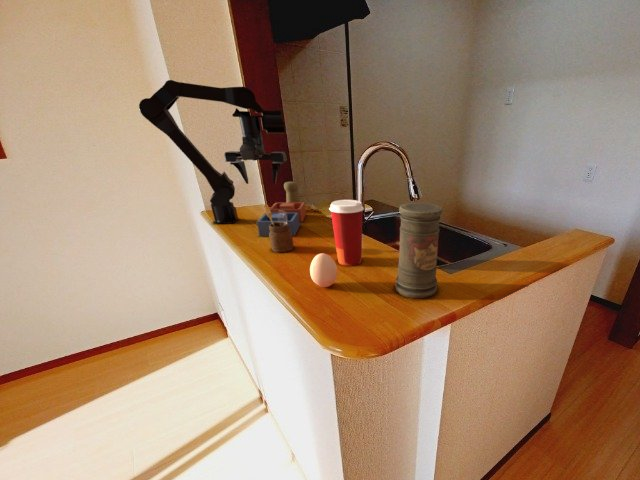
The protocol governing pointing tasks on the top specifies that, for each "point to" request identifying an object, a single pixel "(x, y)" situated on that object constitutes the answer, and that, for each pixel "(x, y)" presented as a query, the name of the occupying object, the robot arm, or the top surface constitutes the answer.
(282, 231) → the utensil holder
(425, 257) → the container
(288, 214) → the blue bin
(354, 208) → the coffee cup
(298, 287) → the top surface
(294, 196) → the cork
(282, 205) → the terracotta block
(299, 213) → the terracotta bin
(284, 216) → the slate block
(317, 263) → the egg
